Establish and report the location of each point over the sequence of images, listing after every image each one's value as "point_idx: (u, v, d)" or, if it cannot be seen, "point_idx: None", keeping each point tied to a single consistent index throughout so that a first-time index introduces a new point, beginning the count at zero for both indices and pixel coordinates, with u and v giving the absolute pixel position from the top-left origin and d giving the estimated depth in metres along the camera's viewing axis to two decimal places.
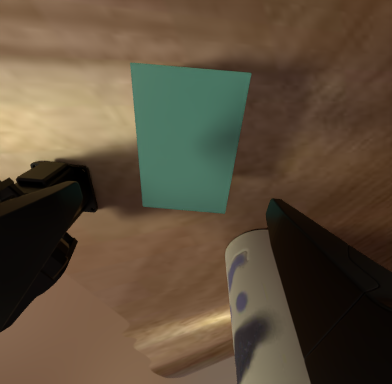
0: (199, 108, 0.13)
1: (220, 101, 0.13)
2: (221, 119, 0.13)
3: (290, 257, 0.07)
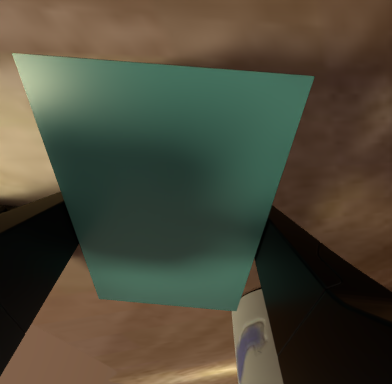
0: (187, 154, 0.06)
1: (234, 140, 0.06)
2: (235, 175, 0.06)
3: (267, 255, 0.07)
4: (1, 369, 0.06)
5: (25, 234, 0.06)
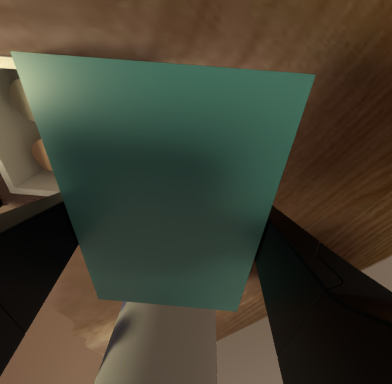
0: (187, 154, 0.06)
1: (234, 139, 0.06)
2: (235, 175, 0.06)
3: (267, 255, 0.07)
4: (1, 369, 0.06)
5: (25, 234, 0.06)
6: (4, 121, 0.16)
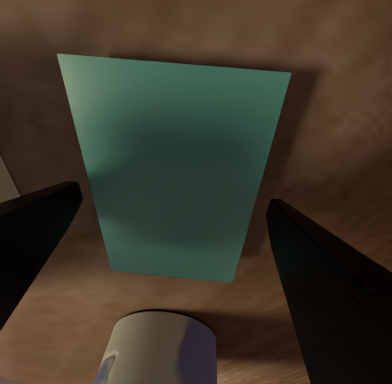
0: (191, 136, 0.07)
1: (229, 125, 0.07)
2: (230, 155, 0.08)
3: (290, 257, 0.07)
4: None
5: None
6: None
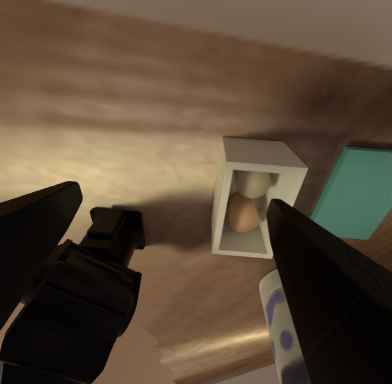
0: (383, 174, 0.19)
1: None
2: None
3: (290, 257, 0.07)
4: None
5: None
6: None
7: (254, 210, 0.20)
